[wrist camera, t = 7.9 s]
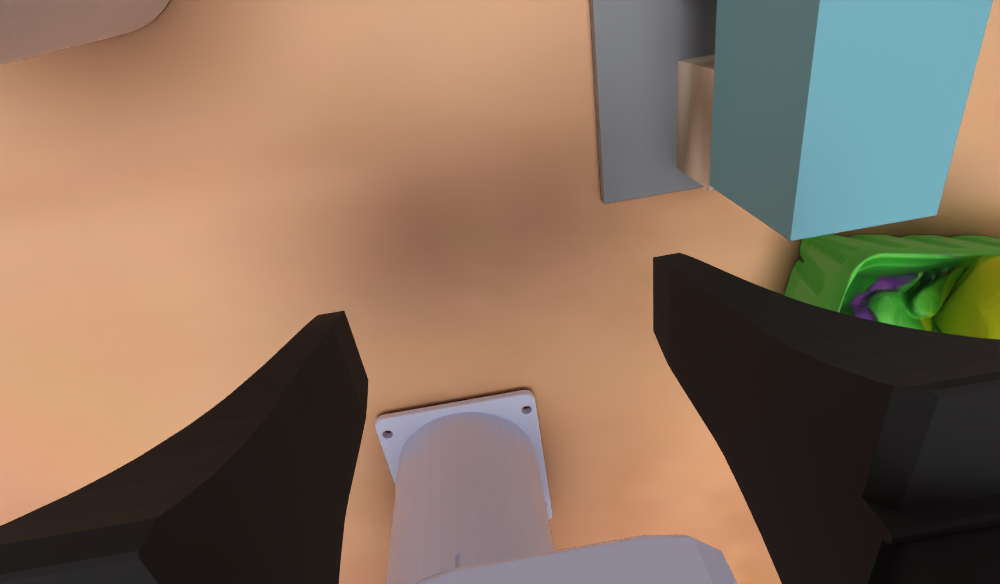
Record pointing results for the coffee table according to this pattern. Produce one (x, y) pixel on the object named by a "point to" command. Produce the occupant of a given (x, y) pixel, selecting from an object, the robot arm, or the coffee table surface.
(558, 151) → the coffee table surface
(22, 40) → the coffee cup
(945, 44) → the lintel
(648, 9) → the build plate
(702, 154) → the pillar near arm
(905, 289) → the fruit basket
